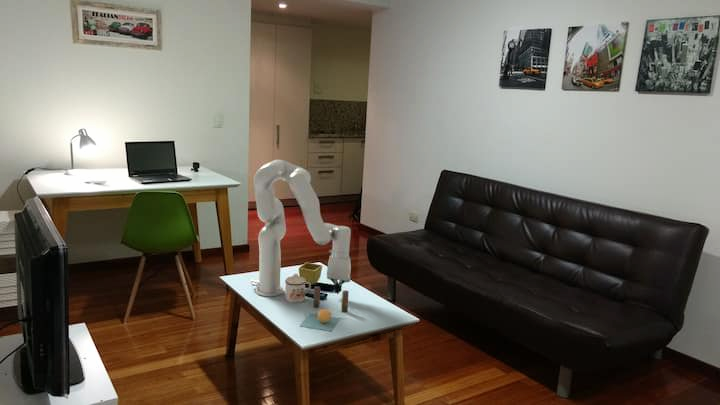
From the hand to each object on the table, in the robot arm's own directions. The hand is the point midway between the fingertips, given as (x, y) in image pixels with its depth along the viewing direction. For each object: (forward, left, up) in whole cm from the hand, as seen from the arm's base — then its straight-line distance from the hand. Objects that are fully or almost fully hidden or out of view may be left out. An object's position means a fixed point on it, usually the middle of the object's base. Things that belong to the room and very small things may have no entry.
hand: (337, 292), depth 252 cm
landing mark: (+1, -27, -3) cm, 27 cm away
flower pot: (-17, +12, -3) cm, 21 cm away
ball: (+2, -26, 0) cm, 26 cm away
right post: (+7, -13, -3) cm, 15 cm away
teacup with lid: (-16, -7, -3) cm, 18 cm away
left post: (-6, -13, -3) cm, 14 cm away
